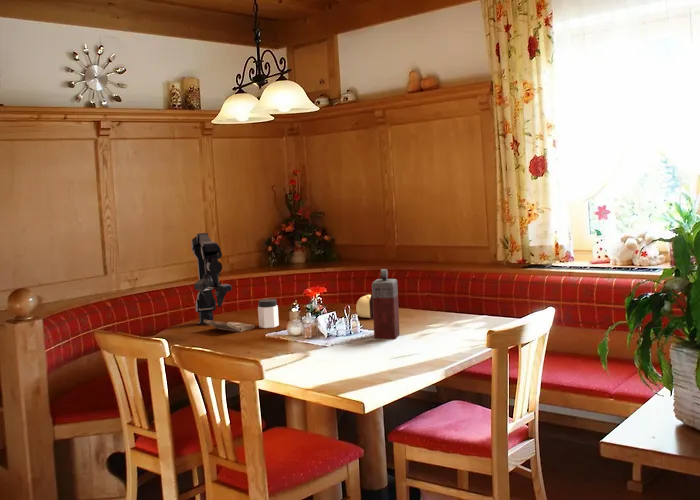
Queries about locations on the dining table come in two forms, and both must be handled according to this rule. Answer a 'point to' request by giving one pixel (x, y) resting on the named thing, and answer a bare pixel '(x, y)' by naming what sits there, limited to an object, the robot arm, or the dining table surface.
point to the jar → (268, 313)
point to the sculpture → (363, 306)
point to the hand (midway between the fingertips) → (214, 306)
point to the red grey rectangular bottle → (385, 307)
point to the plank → (221, 325)
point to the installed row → (241, 326)
